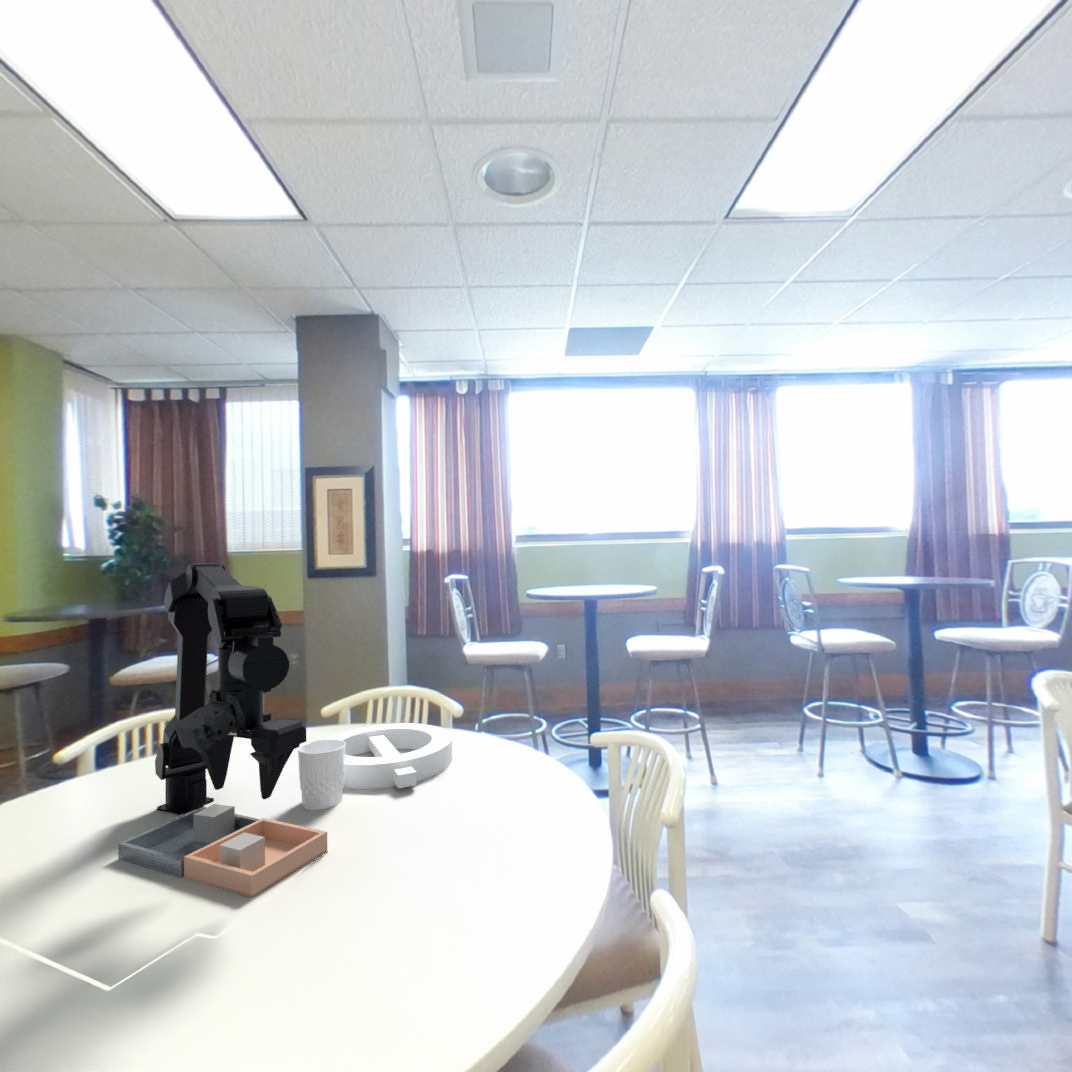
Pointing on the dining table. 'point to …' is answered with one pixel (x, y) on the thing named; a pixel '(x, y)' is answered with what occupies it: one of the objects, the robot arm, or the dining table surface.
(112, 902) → the dining table surface
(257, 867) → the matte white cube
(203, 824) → the grey cube
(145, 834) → the bin
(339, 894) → the dining table surface
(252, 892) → the dish
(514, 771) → the dining table surface
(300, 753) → the white cup
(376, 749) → the ring with crossbar
